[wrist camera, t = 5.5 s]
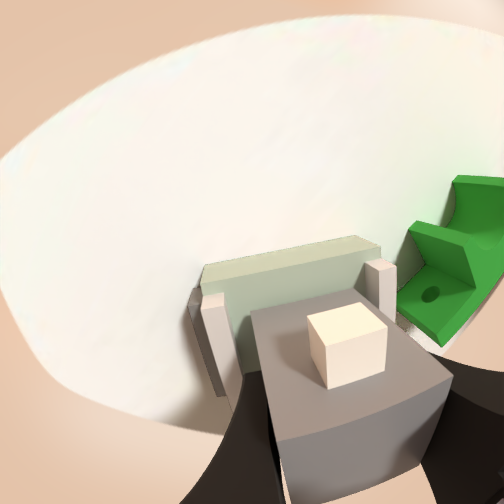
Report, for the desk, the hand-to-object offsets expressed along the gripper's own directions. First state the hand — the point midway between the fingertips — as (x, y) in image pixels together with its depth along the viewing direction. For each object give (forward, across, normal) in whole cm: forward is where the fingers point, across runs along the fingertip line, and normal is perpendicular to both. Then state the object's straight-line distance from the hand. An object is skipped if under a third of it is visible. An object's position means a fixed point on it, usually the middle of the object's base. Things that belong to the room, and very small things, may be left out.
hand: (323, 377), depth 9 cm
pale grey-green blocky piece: (+5, 0, 0) cm, 5 cm away
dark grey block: (+2, 0, 0) cm, 2 cm away
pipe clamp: (+5, -10, -3) cm, 12 cm away
